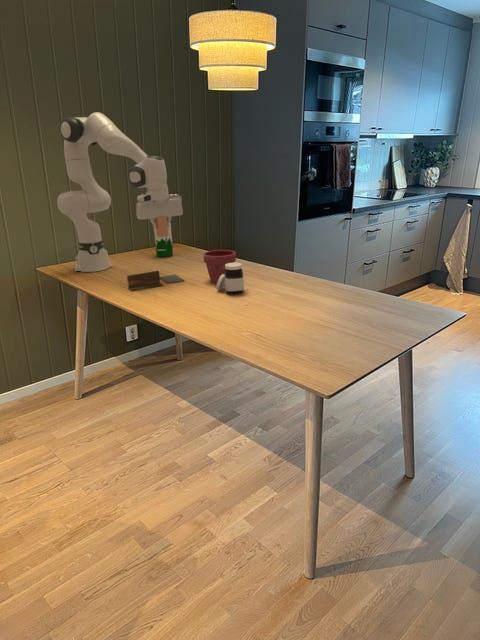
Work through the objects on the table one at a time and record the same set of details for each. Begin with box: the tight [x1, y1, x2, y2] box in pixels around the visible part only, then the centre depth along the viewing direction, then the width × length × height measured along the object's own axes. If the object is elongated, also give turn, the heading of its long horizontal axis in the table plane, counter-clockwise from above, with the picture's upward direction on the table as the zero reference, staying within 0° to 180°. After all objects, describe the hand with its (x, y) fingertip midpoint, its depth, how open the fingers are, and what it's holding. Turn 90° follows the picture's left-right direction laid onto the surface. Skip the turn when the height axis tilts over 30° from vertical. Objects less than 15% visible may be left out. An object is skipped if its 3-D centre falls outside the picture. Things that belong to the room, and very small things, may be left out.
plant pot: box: [203, 249, 237, 284], centre depth 209 cm, size 14×14×13 cm
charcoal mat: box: [160, 273, 185, 285], centre depth 216 cm, size 12×8×1 cm, turn 28°
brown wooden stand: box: [126, 270, 164, 292], centre depth 205 cm, size 5×14×6 cm, turn 118°
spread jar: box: [215, 262, 245, 295], centre depth 194 cm, size 12×11×12 cm
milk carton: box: [153, 222, 174, 258], centre depth 260 cm, size 9×9×20 cm
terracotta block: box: [154, 216, 168, 237], centre depth 207 cm, size 4×4×9 cm
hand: (161, 227), depth 207 cm, fingers closed on terracotta block, 4 cm apart
